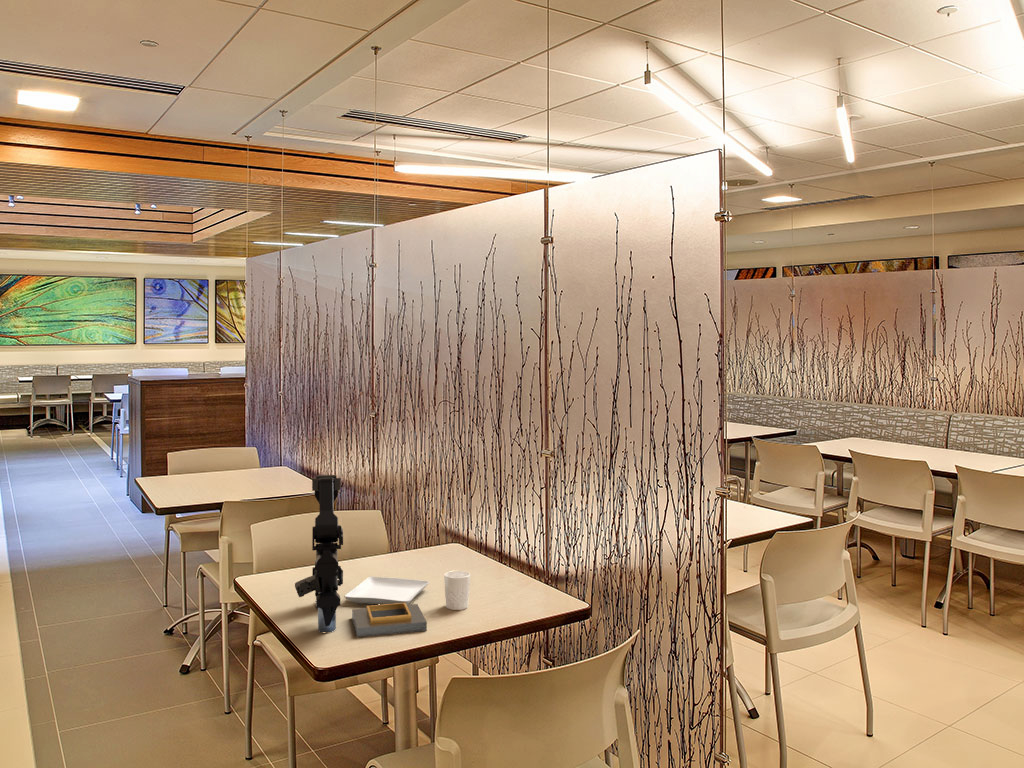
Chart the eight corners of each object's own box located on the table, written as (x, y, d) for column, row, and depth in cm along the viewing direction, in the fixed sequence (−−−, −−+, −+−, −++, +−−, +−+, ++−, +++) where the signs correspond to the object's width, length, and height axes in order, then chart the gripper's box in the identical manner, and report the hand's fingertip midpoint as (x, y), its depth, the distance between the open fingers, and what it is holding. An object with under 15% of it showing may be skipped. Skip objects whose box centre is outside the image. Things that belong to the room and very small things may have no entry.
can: (317, 627, 216) (317, 599, 216) (335, 626, 217) (335, 598, 217) (318, 633, 212) (318, 604, 211) (336, 632, 213) (336, 603, 213)
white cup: (470, 602, 239) (470, 570, 239) (469, 610, 231) (469, 577, 231) (444, 602, 239) (444, 570, 238) (443, 611, 231) (443, 577, 231)
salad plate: (409, 611, 232) (409, 600, 231) (342, 606, 236) (342, 595, 236) (430, 590, 252) (430, 580, 252) (369, 586, 257) (369, 575, 256)
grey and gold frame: (352, 618, 224) (352, 604, 224) (417, 612, 230) (417, 599, 229) (356, 637, 209) (356, 622, 209) (426, 630, 214) (426, 616, 214)
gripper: (296, 560, 221) (296, 614, 221) (297, 578, 203) (297, 637, 203) (336, 557, 224) (336, 611, 224) (340, 575, 206) (340, 633, 206)
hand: (326, 622), depth 214 cm, fingers closed on can, 5 cm apart
